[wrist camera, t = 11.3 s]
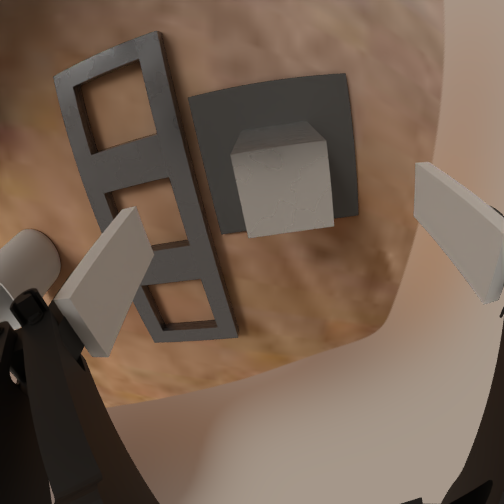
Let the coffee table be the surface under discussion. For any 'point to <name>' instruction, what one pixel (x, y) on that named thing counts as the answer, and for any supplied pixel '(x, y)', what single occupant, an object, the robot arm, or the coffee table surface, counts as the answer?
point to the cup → (26, 269)
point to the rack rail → (144, 170)
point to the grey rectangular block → (283, 179)
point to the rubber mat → (270, 114)
